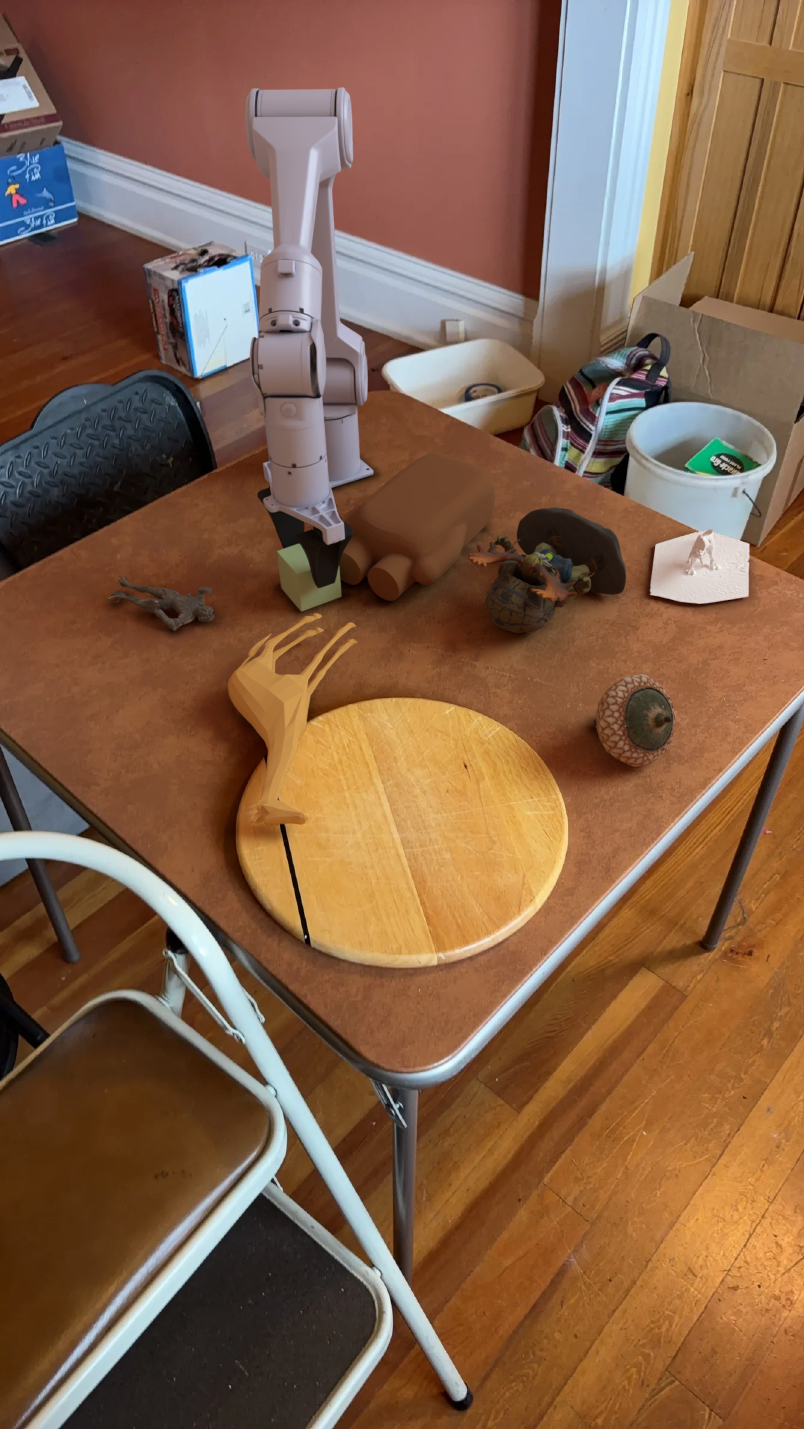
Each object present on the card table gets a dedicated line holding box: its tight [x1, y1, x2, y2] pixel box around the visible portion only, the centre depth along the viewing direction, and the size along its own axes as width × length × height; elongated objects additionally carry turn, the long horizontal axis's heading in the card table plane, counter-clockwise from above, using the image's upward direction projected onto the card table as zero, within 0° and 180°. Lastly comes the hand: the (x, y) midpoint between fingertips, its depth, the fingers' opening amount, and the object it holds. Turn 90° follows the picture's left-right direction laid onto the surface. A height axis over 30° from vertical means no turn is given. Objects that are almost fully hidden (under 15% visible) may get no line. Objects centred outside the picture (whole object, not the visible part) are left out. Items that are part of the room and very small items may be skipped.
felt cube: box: [276, 544, 342, 612], centre depth 108 cm, size 5×5×5 cm
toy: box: [339, 452, 496, 602], centre depth 112 cm, size 15×8×20 cm
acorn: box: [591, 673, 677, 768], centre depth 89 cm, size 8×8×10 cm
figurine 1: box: [107, 575, 216, 632], centre depth 106 cm, size 6×4×12 cm
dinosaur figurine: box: [649, 529, 750, 605], centre depth 109 cm, size 15×12×6 cm
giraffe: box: [227, 612, 359, 829], centre depth 93 cm, size 16×4×25 cm
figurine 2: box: [467, 506, 627, 634], centre depth 104 cm, size 14×10×18 cm
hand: (309, 565), depth 107 cm, fingers open, 7 cm apart
